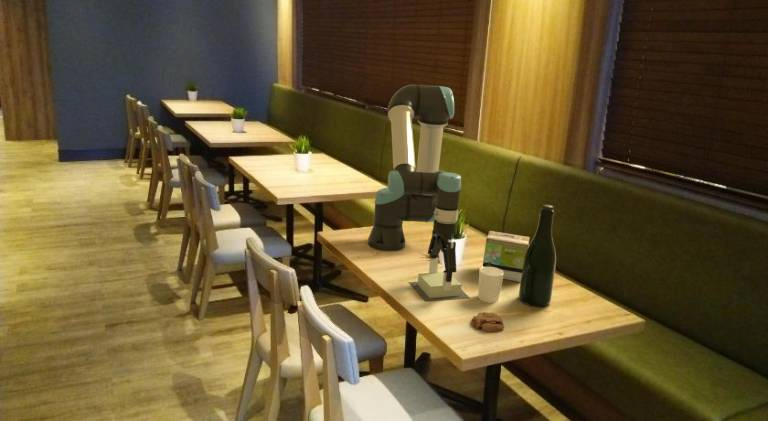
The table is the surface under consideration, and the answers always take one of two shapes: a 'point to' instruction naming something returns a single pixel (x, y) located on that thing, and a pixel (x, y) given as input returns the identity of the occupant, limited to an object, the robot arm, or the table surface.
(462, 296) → the mat
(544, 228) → the dark green wine bottle
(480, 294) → the white cup
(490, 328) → the cookie
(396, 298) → the table surface
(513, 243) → the tea box
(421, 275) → the lid
